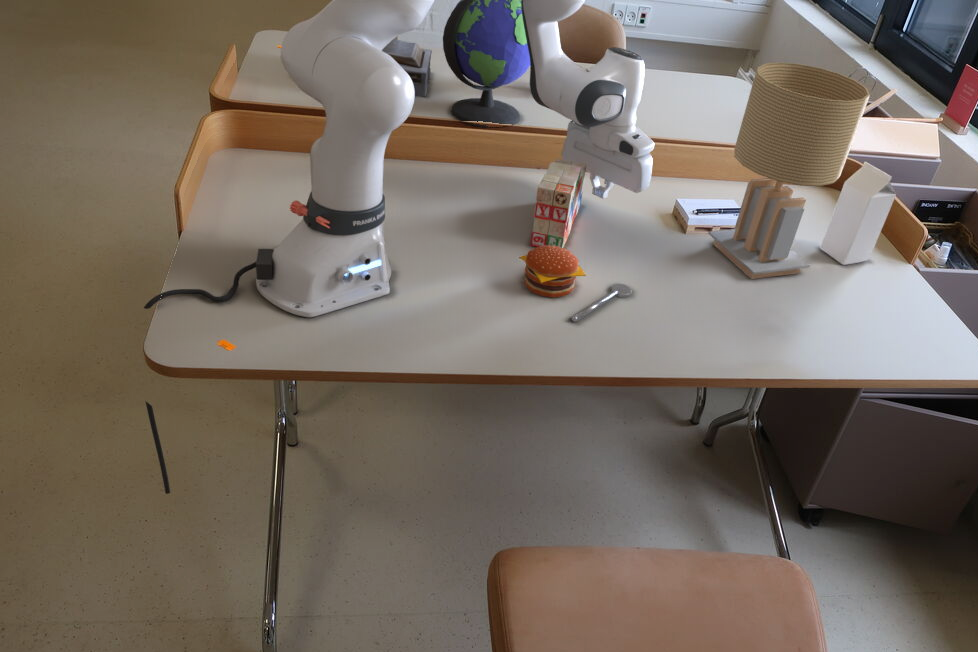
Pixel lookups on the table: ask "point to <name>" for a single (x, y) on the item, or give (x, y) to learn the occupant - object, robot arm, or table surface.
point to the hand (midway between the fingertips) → (599, 196)
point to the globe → (486, 55)
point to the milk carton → (859, 215)
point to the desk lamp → (788, 159)
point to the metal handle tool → (605, 300)
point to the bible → (412, 62)
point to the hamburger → (551, 271)
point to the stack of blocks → (557, 203)
